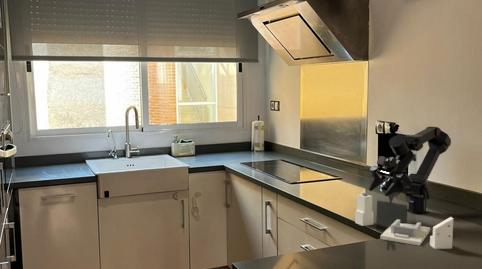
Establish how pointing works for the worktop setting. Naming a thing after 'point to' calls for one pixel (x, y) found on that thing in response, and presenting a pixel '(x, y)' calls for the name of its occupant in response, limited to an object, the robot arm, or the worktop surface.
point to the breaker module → (364, 210)
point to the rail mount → (406, 233)
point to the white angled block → (442, 235)
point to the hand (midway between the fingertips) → (377, 192)
